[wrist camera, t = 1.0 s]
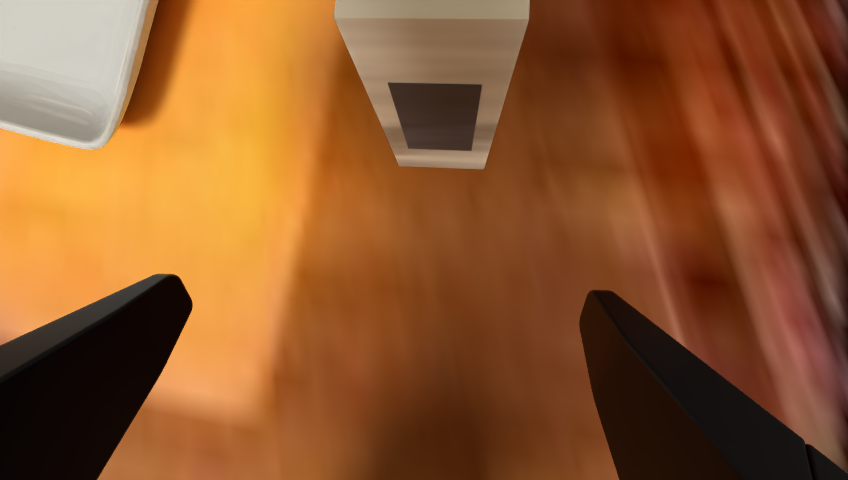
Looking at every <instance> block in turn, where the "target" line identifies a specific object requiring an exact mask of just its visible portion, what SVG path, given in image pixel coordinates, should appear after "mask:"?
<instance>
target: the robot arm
mask: <svg viewBox="0 0 848 480" xmlns="http://www.w3.org/2000/svg"><path fill="white" fill-rule="evenodd" d="M192 305H193V304H192V300H191V298H190V296H189V294H188V292H187V290H186V288H185V286H184V284H183V283H182V281H181V279H180V278H179V277H178V276H177V275H174V274H155V275H153V276H150V277H148V278H146V279H144V280H142V281H140V282H137V283H135V284H133V285H131V286H129V287H127V288H124V289H122V290H120V291H118V292H116V293H114V294H111V295H109V296H107V297H105V298H103V299H100V300H98V301H96V302H94V303H92V304H90V305H87V306H85V307H83V308H81V309H79V310H77V311H74V312H72V313H70V314H68V315H66V316H64V317H61V318H59V319H57V320H55V321H53V322H50V323H48V324H46V325H44V326H42V327H40V328H37V329H35V330H33V331H31V332H29V333H27V334H24V335H22V336H20V337H18V338H16V339H14V340H11V341H9V342H7V343H5V344H3V345H1V346H0V480H97V479H98V477H99V475H100V474H101V472H102V470H103V469H104V467H105V466H106V464H107V462H108V461H109V459H110V457H111V456H112V454H113V452H114V451H115V449H116V447H117V446H118V444H119V442H120V441H121V439H122V437H123V436H124V434H125V432H126V431H127V429H128V428H129V426H130V424H131V423H132V421H133V419H134V418H135V416H136V414H137V413H138V411H139V409H140V408H141V406H142V404H143V403H144V401H145V399H146V398H147V396H148V394H149V393H150V391H151V390H152V388H153V386H154V385H155V383H156V381H157V379H158V378H159V376H160V374H161V372H162V371H163V369H164V367H165V365H166V363H167V361H168V359H169V357H170V355H171V352H172V350H173V348H174V346H175V344H176V342H177V340H178V338H179V336H180V334H181V332H182V330H183V328H184V326H185V324H186V321H187V319H188V317H189V315H190V313H191V311H192ZM579 325H580V332H581V337H582V342H583V347H584V353H585V358H586V363H587V368H588V373H589V378H590V383H591V388H592V392H593V397H594V400H595V404H596V407H597V411H598V414H599V417H600V420H601V423H602V426H603V430H604V433H605V436H606V439H607V442H608V445H609V448H610V452H611V455H612V458H613V461H614V464H615V467H616V470H617V474H618V477H619V480H848V473H847V472H845V471H844V470H843V469H841V468H840V467H839V466H837V465H836V464H835V463H834V462H832V461H831V460H830V459H828V458H827V457H826V456H825V455H823V454H822V453H821V452H819V451H818V450H817V449H816V448H814V447H813V446H812V445H809V444H805V441H804V440H803V439H802V438H801V437H800V436H798V435H797V434H796V433H795V432H793V431H792V430H791V429H789V428H788V427H787V426H786V425H784V424H783V423H782V422H780V421H779V420H778V419H777V418H775V417H774V416H773V415H771V414H770V413H769V412H768V411H766V410H765V409H764V408H762V407H761V406H760V405H758V404H757V403H756V402H755V401H753V400H752V399H751V398H749V397H748V396H747V395H746V394H744V393H743V392H742V391H740V390H739V389H738V388H737V387H735V386H734V385H733V384H731V383H730V382H729V381H728V380H726V379H725V378H724V377H722V376H721V375H720V374H718V373H717V372H716V371H715V370H713V369H712V368H711V367H709V366H708V365H707V364H706V363H704V362H703V361H702V360H700V359H699V358H698V357H697V356H695V355H694V354H693V353H691V352H690V351H689V350H688V349H686V348H685V347H684V346H682V345H681V344H680V343H679V342H677V341H676V340H675V339H673V338H672V337H671V336H669V335H668V334H667V333H666V332H664V331H663V330H662V329H660V328H659V327H658V326H657V325H655V324H654V323H653V322H651V321H650V320H649V319H648V318H646V317H645V316H644V315H642V314H641V313H640V312H639V311H637V310H636V309H635V308H633V307H632V306H631V305H629V304H628V303H627V302H626V301H624V300H623V299H622V298H620V297H619V296H618V295H617V294H615V293H614V292H612V291H609V290H591V291H590V292H589V293H588V295H587V297H586V300H585V304H584V307H583V310H582V313H581V316H580V322H579Z"/></svg>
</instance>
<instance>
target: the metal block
mask: <svg viewBox="0 0 848 480" xmlns="http://www.w3.org/2000/svg"><path fill="white" fill-rule="evenodd" d="M529 6H530V0H336V3H335V13H334V19H335V21H336V24H337V26H338V28H339V31H340V33H341V35H342V37H343V40H344V42H345V44H346V46H347V49H348V51H349V53H350V55H351V58H352V60H353V62H354V65H355V67H356V69H357V71H358V74H359V76H360V78H361V80H362V83H363V85H364V87H365V89H366V92H367V94H368V96H369V99H370V101H371V103H372V105H373V108H374V110H375V112H376V114H377V117H378V119H379V121H380V123H381V126H382V128H383V130H384V133H385V135H386V137H387V139H388V142H389V144H390V146H391V148H392V151H393V153H394V155H395V157H396V160H397V162H398V164H399V166H412V167H436V168H461V169H484V167H485V164H486V161H487V157H488V154H489V151H490V148H491V144H492V141H493V138H494V134H495V131H496V128H497V124H498V121H499V118H500V114H501V111H502V108H503V104H504V101H505V98H506V94H507V91H508V88H509V84H510V81H511V78H512V74H513V71H514V68H515V64H516V61H517V58H518V54H519V51H520V48H521V44H522V41H523V38H524V34H525V31H526V28H527V24H528V21H529Z"/></svg>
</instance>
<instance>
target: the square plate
mask: <svg viewBox="0 0 848 480" xmlns="http://www.w3.org/2000/svg"><path fill="white" fill-rule="evenodd" d="M158 1H159V0H0V128H2V129H5V130H9V131H13V132H16V133H20V134H24V135H27V136H31V137H35V138H39V139H42V140H46V141H50V142H54V143H58V144H63V145H67V146H71V147H76V148H81V149H87V150H97V149H100V148H103V147H104V145H106V144H107V143H108V142H109V140H110V139H111V138H112V137H113V135H114V134H115V133H116V131H117V129H118V127H119V126H120V124H121V121H122V119H123V117H124V114H125V112H126V109H127V107H128V104H129V102H130V99H131V96H132V93H133V90H134V87H135V84H136V81H137V78H138V74H139V71H140V68H141V64H142V60H143V56H144V53H145V49H146V45H147V41H148V38H149V34H150V30H151V26H152V23H153V19H154V15H155V12H156V8H157V5H158Z"/></svg>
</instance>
